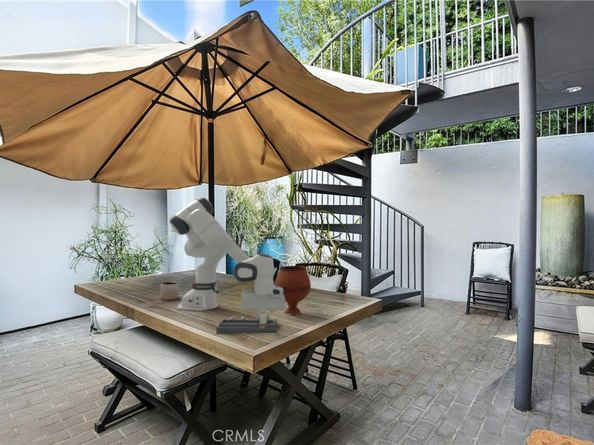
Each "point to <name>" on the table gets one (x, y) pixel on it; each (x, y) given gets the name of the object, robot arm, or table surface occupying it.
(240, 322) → the console
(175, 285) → the planter
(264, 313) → the fader cap
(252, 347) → the table surface
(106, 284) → the table surface
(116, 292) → the table surface
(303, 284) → the terracotta clay pot
